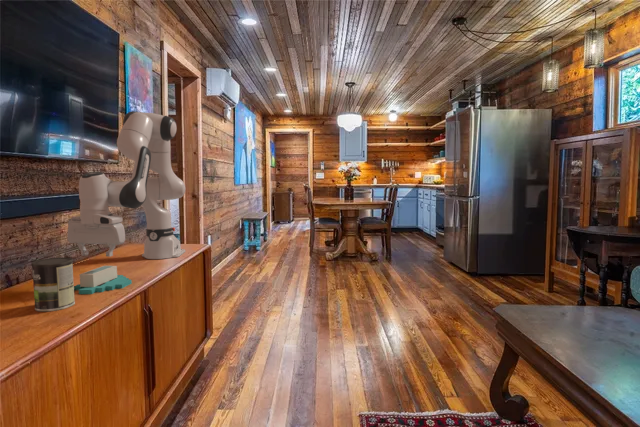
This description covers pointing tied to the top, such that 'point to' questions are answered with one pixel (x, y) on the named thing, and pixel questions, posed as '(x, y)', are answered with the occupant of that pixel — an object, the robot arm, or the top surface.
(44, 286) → the coffee can
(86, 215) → the robot arm
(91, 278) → the beige rectangular block
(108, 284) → the alien figure
